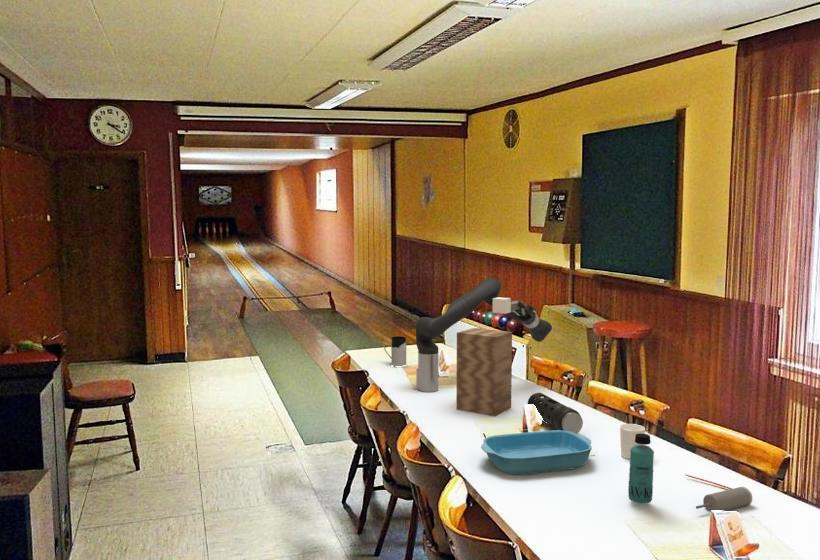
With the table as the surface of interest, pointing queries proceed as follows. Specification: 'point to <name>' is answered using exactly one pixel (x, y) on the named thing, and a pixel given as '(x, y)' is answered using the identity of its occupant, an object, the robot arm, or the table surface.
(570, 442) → the casserole dish
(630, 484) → the beverage bottle
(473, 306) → the robot arm
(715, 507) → the motor
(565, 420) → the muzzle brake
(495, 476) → the table surface
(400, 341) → the glass holder
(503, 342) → the stand
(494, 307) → the plug
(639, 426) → the white cup
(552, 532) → the table surface
